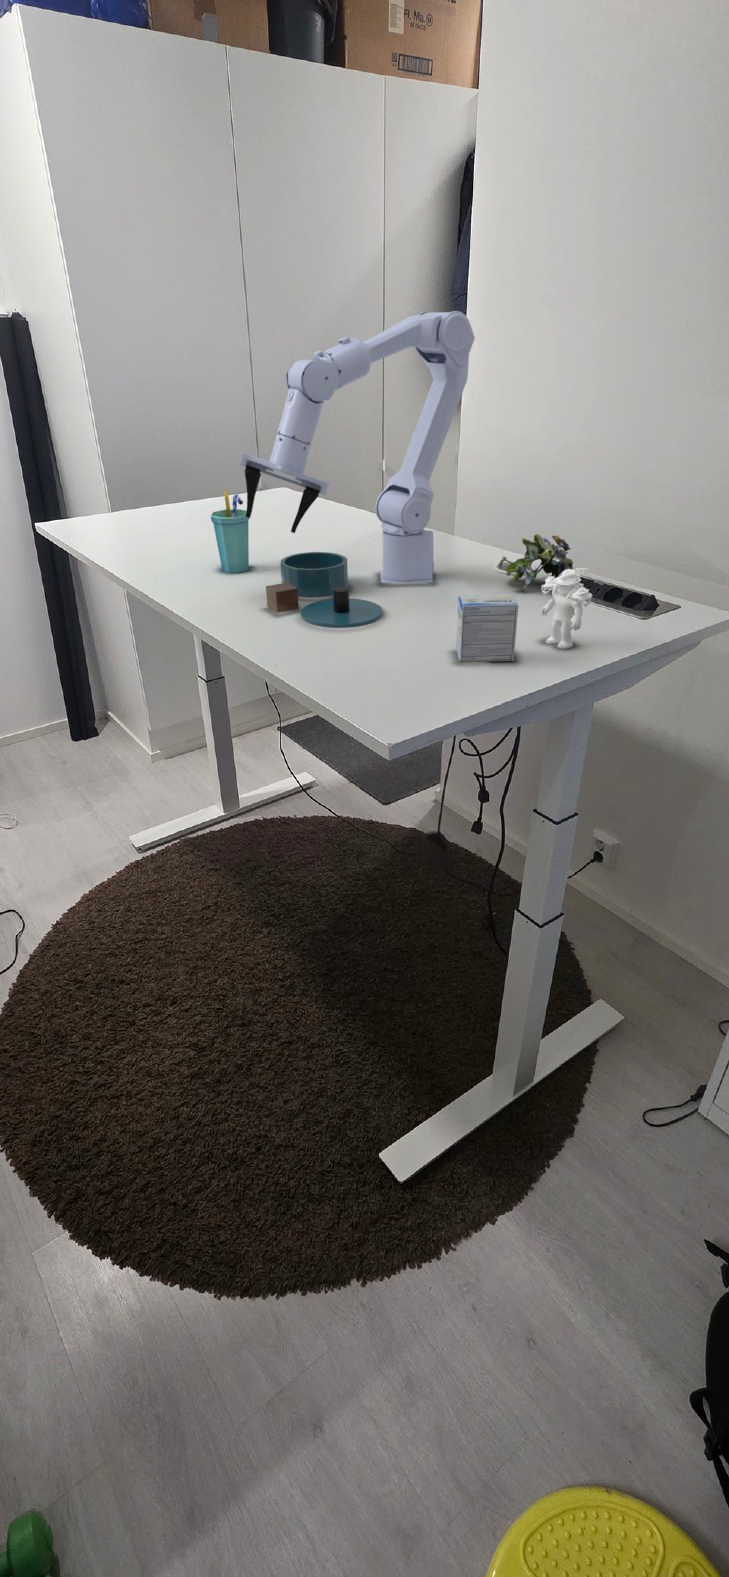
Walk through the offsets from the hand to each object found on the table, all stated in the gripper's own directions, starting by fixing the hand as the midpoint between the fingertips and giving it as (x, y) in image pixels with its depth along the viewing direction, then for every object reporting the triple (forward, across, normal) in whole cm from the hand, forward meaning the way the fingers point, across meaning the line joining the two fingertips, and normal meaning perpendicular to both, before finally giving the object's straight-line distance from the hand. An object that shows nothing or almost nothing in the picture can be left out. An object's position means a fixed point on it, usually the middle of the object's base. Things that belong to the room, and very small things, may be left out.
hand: (270, 524), depth 134 cm
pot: (+9, +11, +9) cm, 16 cm away
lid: (+9, +15, -7) cm, 19 cm away
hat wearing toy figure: (+2, +46, -22) cm, 52 cm away
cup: (+12, -4, +24) cm, 27 cm away
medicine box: (+7, +35, -27) cm, 44 cm away
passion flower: (-4, +48, +5) cm, 49 cm away
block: (+12, +6, -2) cm, 14 cm away
